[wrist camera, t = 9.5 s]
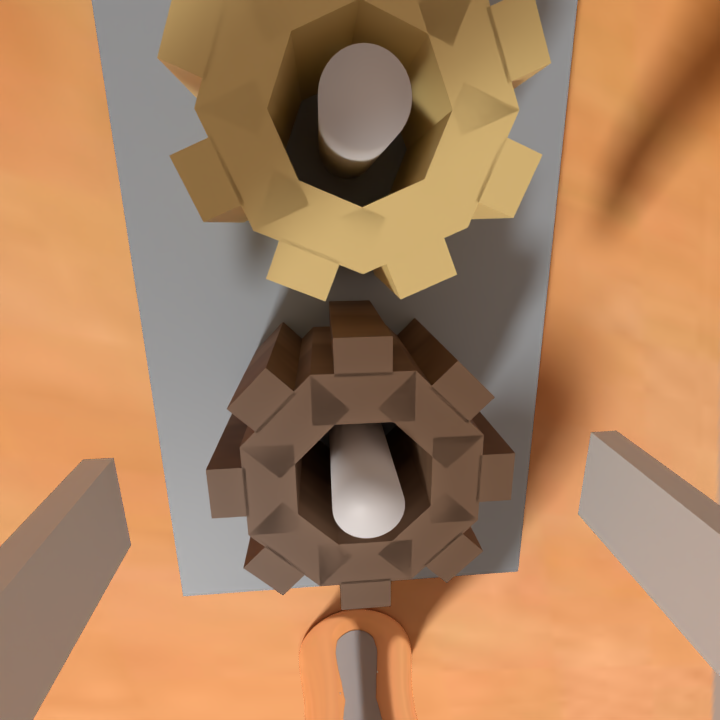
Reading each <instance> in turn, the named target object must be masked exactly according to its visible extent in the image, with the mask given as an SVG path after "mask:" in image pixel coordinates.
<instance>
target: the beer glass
mask: <svg viewBox="0 0 720 720" xmlns="http://www.w3.org/2000/svg"><path fill="white" fill-rule="evenodd" d="M299 671H300V678H301V684H302V691H303V698H304V713H305V720H418V718H417V714H416V710H415V705H414V698H413V689H412V655H411V646H410V641H409V638H408V636H407V634H406V632H405V630H404V629H403V627H402V626H401V625H400V624H399V623H398V622H397V621H396V620H394V619H393V618H391V617H390V616H388V615H386V614H383V613H380V612H377V611H373V610H367V609H352V610H346V611H341V612H338V613H335V614H333V615H330V616H328V617H326V618H325V619H323V620H321V621H320V622H319V623H317V624H316V625H315V626H314V627H313V628H312V629H311V630H310V631H309V632H308V634H307V635H306V636H305V638H304V640H303V642H302V645H301V648H300V652H299Z"/></svg>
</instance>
